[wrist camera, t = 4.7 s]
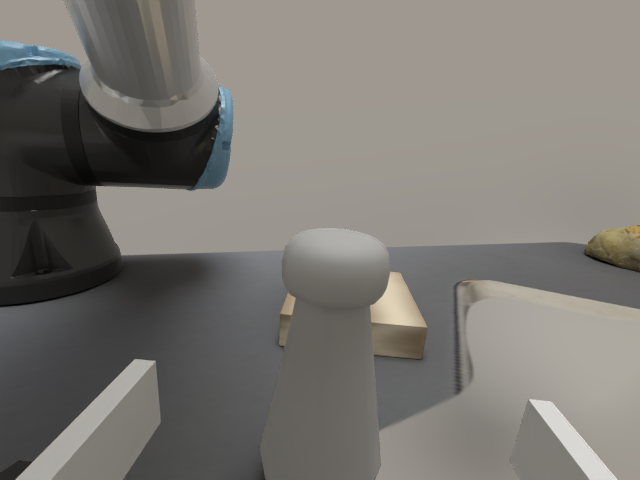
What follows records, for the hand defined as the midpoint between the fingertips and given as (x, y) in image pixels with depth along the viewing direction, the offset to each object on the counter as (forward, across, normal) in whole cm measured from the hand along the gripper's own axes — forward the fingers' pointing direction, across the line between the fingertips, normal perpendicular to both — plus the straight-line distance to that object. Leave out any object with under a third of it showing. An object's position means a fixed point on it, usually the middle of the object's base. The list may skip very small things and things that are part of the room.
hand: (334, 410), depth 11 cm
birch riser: (+20, +2, -7) cm, 21 cm away
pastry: (+50, +55, -8) cm, 75 cm away
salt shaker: (+3, 0, -8) cm, 8 cm away
